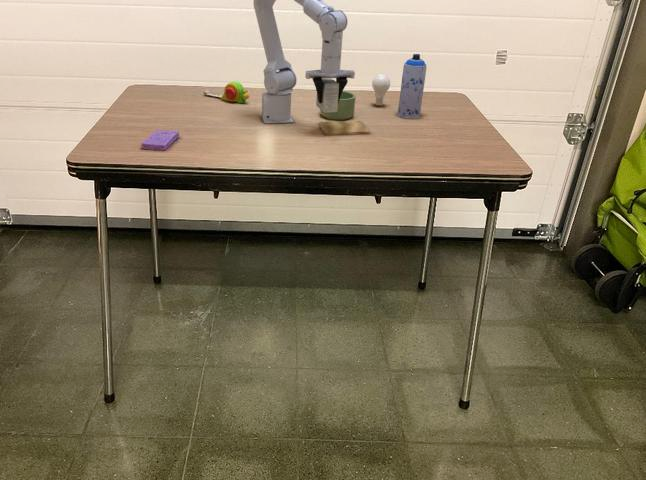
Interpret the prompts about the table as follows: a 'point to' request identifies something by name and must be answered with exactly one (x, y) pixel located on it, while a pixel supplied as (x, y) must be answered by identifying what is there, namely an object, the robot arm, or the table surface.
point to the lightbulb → (380, 87)
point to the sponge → (160, 140)
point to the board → (343, 127)
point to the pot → (342, 107)
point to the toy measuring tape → (232, 93)
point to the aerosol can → (412, 88)
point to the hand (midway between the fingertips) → (328, 102)
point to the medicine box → (329, 96)
